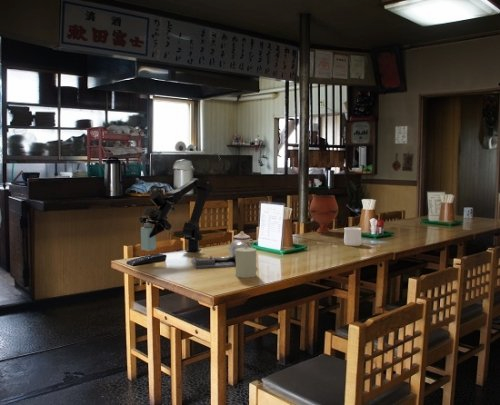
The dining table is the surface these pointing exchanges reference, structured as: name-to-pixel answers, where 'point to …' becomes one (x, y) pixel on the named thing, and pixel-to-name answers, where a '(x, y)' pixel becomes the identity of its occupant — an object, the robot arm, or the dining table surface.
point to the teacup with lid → (243, 238)
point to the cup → (352, 236)
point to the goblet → (323, 211)
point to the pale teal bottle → (147, 238)
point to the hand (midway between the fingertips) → (146, 236)
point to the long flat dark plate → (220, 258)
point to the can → (245, 262)
